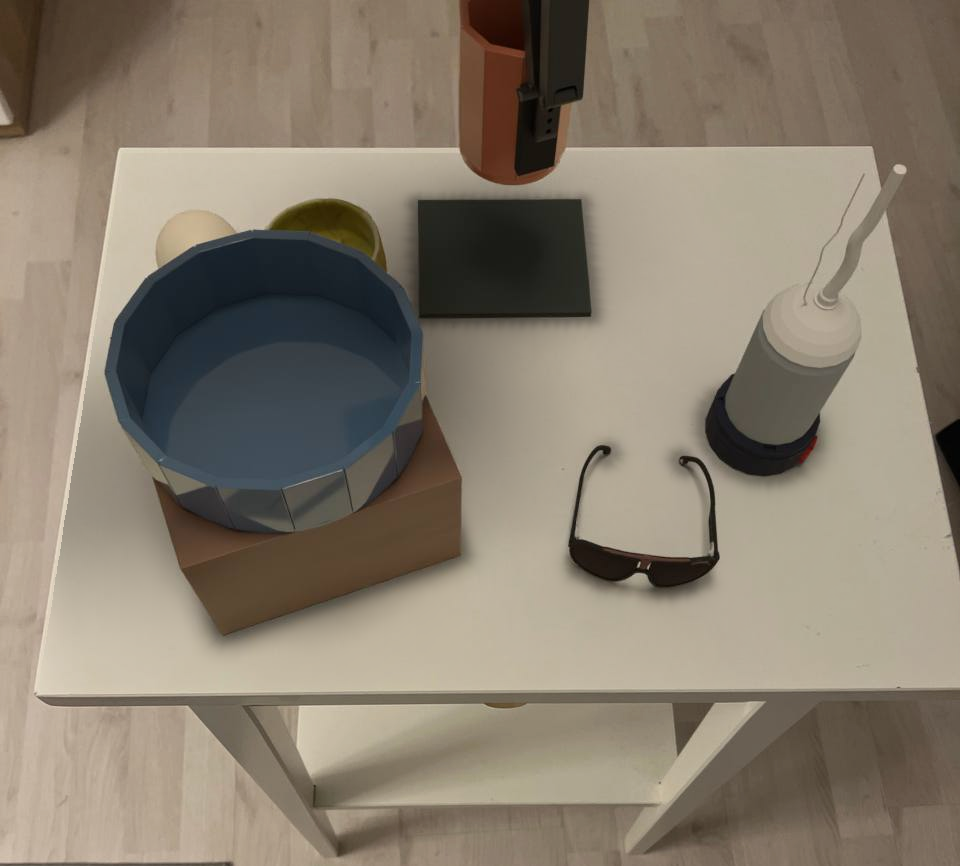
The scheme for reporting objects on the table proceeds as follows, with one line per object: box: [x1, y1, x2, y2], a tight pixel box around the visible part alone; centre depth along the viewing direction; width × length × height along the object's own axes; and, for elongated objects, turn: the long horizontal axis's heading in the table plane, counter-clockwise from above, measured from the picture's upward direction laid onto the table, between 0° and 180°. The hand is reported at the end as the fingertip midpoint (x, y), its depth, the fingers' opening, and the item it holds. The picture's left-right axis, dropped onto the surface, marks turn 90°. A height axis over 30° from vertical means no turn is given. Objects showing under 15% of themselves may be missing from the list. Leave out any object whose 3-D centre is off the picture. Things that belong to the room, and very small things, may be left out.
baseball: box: [155, 209, 238, 270], centre depth 75 cm, size 7×7×7 cm
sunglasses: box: [567, 444, 721, 589], centre depth 69 cm, size 10×12×5 cm
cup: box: [457, 0, 572, 186], centre depth 65 cm, size 8×8×10 cm
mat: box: [417, 198, 593, 319], centre depth 79 cm, size 14×12×1 cm
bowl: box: [103, 228, 427, 533], centre depth 59 cm, size 18×18×5 cm
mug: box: [264, 197, 388, 273], centre depth 74 cm, size 12×10×10 cm
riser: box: [109, 336, 463, 636], centre depth 66 cm, size 18×18×11 cm
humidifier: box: [704, 163, 908, 477], centre depth 63 cm, size 8×8×25 cm
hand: (512, 125), depth 68 cm, fingers closed on cup, 8 cm apart
